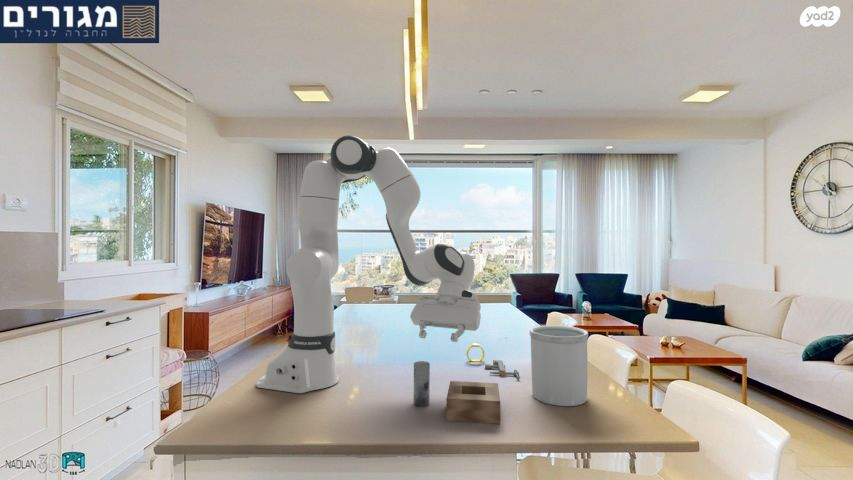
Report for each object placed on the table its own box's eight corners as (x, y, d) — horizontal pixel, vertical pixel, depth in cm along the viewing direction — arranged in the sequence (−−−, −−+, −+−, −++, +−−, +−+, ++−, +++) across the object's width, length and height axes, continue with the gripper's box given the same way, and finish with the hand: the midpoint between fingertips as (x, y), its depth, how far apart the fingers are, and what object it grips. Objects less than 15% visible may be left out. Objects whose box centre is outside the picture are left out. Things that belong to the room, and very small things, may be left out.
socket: (446, 420, 93) (446, 398, 93) (450, 400, 104) (450, 380, 104) (500, 423, 91) (500, 401, 91) (497, 403, 103) (497, 383, 103)
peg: (412, 406, 101) (412, 365, 101) (414, 400, 105) (415, 360, 105) (428, 407, 100) (428, 366, 100) (430, 400, 104) (430, 361, 104)
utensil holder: (526, 403, 103) (526, 333, 104) (532, 384, 117) (532, 323, 117) (589, 411, 98) (589, 338, 98) (587, 391, 112) (587, 327, 112)
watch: (482, 361, 142) (484, 343, 142) (484, 363, 139) (485, 345, 139) (465, 359, 142) (467, 342, 142) (466, 362, 139) (468, 344, 139)
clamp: (484, 359, 136) (514, 360, 135) (484, 365, 136) (514, 367, 135) (486, 373, 121) (520, 374, 120) (486, 380, 121) (520, 382, 120)
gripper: (416, 290, 123) (400, 328, 114) (481, 294, 114) (469, 336, 105) (422, 303, 127) (407, 341, 118) (486, 307, 118) (475, 349, 109)
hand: (437, 338), depth 111 cm, fingers open, 8 cm apart
